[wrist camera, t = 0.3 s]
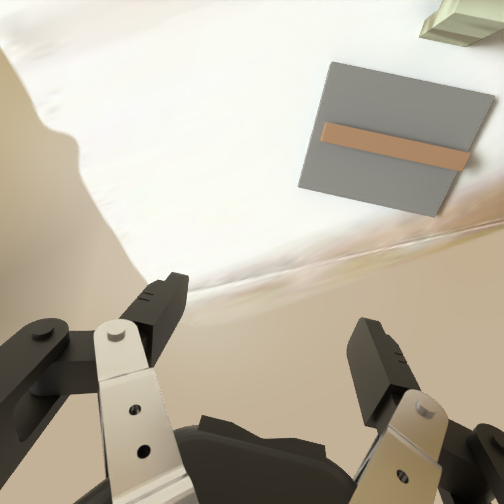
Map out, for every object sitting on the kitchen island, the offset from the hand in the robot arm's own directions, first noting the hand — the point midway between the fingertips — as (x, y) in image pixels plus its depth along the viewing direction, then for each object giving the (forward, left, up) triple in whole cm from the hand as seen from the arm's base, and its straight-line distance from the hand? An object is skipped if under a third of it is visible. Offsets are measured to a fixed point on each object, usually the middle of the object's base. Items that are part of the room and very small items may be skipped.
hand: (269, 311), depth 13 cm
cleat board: (-8, +11, -28) cm, 31 cm away
